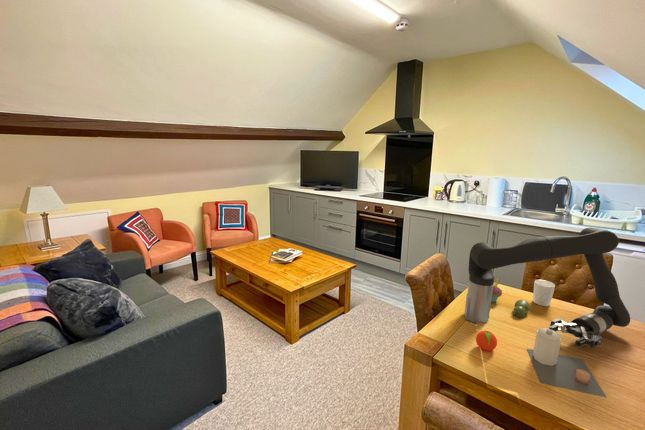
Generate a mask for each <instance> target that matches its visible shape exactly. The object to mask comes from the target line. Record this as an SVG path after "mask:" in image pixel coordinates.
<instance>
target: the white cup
mask: <svg viewBox="0 0 645 430" xmlns="http://www.w3.org/2000/svg"><path fill="white" fill-rule="evenodd" d="M555 287H556V284H555V283H554V282H552V281H549V280H546V279H545V280H544V279H535V280H534V284H533V293H532V294H533V296H532V302H533V303H534V304H536V305H539V306H542V307H549V306H550V305H551V302H552V299H553V295H554V291H555Z"/></svg>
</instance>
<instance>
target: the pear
mask: <svg viewBox="0 0 645 430" xmlns="http://www.w3.org/2000/svg"><path fill="white" fill-rule="evenodd" d="M529 303H530V302H528V301H527V300H524V299H518V300H516V301H515V303H514V305H513V306H514V308H513V311H512V314H513V316H516V317H518V318H522V319H523V318H524V317H525V316H526V313H527V312H529V310H530V306H531V305H530V304H529Z"/></svg>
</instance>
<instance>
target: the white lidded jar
mask: <svg viewBox="0 0 645 430" xmlns="http://www.w3.org/2000/svg"><path fill="white" fill-rule="evenodd" d="M561 338H562V337H561V334H560V333H559V332H558V331H556V332H555V331H553V330H551V329H549V328H547V327H546V328H545V327H544V328H543V327H542V328H538V329H537V331H536V334H535V340H534V346H533V350H534V351H533V356H534V359H535V360H537V361H538V362H540V363H542V364H545V365H550V366H553V365H555V364H557V359H558V354H559V353H560V350H561V349H560V348H561V344H562V339H561ZM559 355H560V354H559Z"/></svg>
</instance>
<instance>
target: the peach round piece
mask: <svg viewBox="0 0 645 430" xmlns="http://www.w3.org/2000/svg"><path fill="white" fill-rule="evenodd" d="M589 378H590V374H589V373H588V372H587V371H585V370H583V369H577V370H576V374H575V380H576V381H577V382H578V383H580V384H584V385H587V384H588V382H589Z"/></svg>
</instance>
